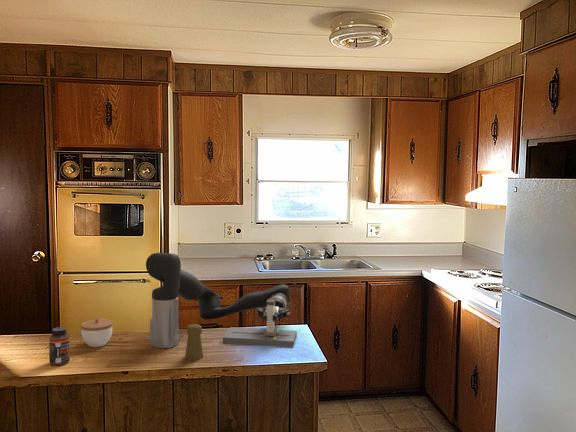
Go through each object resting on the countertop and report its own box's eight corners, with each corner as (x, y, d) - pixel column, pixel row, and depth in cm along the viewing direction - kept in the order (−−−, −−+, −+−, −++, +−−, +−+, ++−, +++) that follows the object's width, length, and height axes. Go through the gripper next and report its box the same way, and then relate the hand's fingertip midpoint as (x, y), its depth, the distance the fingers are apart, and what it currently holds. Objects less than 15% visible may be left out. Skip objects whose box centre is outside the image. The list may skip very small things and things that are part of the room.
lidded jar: (114, 338, 179) (113, 313, 178) (111, 348, 169) (111, 322, 168) (83, 340, 176) (82, 315, 175) (78, 350, 166) (78, 324, 165)
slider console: (222, 342, 176) (222, 336, 176) (230, 332, 188) (230, 326, 188) (293, 346, 173) (293, 340, 173) (296, 335, 185) (296, 330, 185)
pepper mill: (199, 361, 158) (199, 328, 157) (182, 359, 160) (182, 327, 159) (206, 354, 164) (206, 323, 163) (189, 352, 165) (189, 321, 165)
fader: (264, 335, 178) (264, 302, 176) (266, 331, 182) (266, 298, 181) (274, 335, 177) (275, 302, 176) (276, 331, 182) (277, 299, 181)
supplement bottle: (62, 367, 152) (62, 332, 151) (45, 365, 152) (44, 331, 151) (73, 360, 157) (72, 326, 157) (56, 358, 158) (55, 325, 157)
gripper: (293, 316, 193) (288, 329, 176) (259, 314, 194) (250, 327, 177) (293, 298, 192) (288, 309, 175) (259, 296, 194) (251, 307, 177)
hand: (269, 318), depth 176 cm, fingers closed on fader, 2 cm apart
